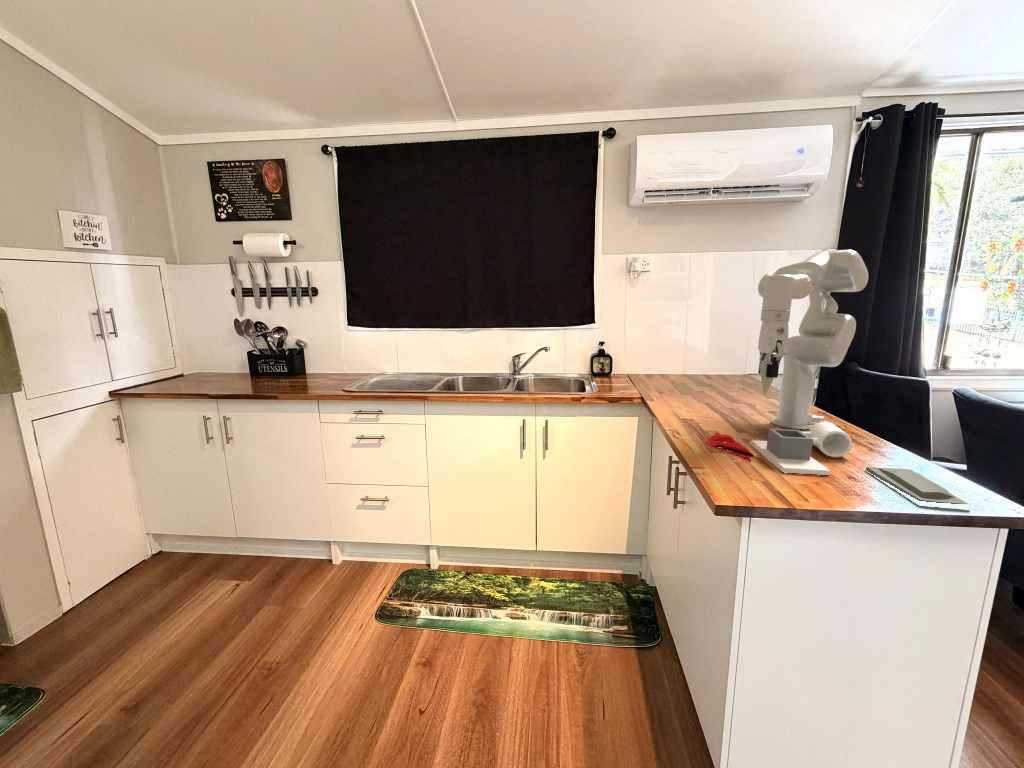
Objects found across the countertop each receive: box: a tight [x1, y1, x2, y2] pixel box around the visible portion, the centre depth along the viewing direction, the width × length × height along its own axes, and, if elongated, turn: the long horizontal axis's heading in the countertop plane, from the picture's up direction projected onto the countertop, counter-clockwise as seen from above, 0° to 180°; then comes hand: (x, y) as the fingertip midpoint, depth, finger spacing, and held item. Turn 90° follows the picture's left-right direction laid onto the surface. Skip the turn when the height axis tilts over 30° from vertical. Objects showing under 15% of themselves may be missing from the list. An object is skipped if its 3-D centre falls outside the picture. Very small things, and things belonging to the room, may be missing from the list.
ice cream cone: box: [758, 353, 775, 396], centre depth 137 cm, size 5×5×15 cm
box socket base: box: [750, 428, 831, 476], centre depth 124 cm, size 11×22×8 cm, turn 172°
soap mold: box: [865, 466, 969, 504], centre depth 106 cm, size 10×20×4 cm, turn 169°
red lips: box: [704, 432, 755, 462], centre depth 136 cm, size 26×14×2 cm, turn 163°
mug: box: [802, 421, 853, 458], centre depth 131 cm, size 12×10×8 cm
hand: (767, 374), depth 137 cm, fingers closed on ice cream cone, 5 cm apart
